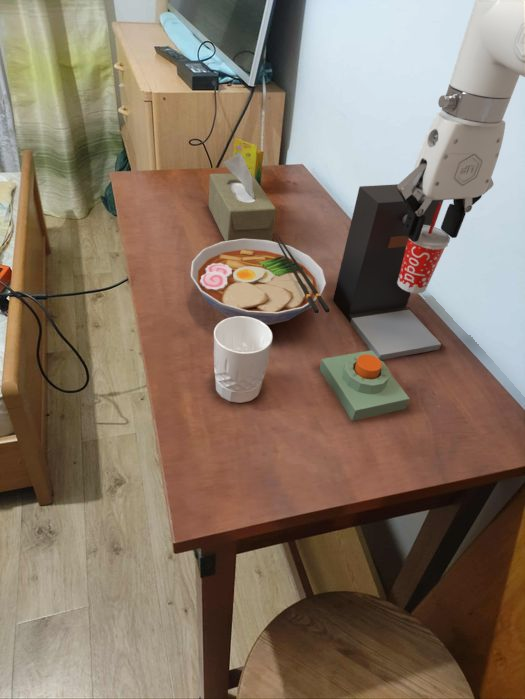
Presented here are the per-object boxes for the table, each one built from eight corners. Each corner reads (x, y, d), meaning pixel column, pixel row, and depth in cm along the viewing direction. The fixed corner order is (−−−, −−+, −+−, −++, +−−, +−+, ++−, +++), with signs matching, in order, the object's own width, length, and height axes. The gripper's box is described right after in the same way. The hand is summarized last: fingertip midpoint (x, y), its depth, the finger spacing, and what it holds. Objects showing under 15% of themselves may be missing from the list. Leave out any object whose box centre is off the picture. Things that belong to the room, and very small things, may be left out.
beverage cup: (384, 280, 81) (410, 197, 72) (409, 271, 84) (436, 190, 75) (413, 300, 78) (444, 215, 69) (438, 289, 81) (471, 207, 72)
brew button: (383, 377, 74) (386, 368, 73) (361, 381, 73) (364, 372, 72) (371, 361, 77) (374, 352, 75) (350, 365, 75) (352, 356, 74)
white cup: (275, 394, 74) (284, 341, 68) (229, 414, 70) (233, 360, 64) (245, 362, 79) (251, 310, 72) (201, 379, 75) (203, 325, 69)
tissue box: (208, 206, 118) (210, 137, 108) (248, 205, 121) (254, 137, 111) (227, 247, 105) (232, 172, 95) (272, 245, 108) (281, 171, 97)
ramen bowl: (180, 272, 96) (180, 233, 91) (294, 266, 102) (301, 229, 97) (202, 360, 78) (203, 318, 73) (339, 347, 84) (350, 307, 79)
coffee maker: (439, 349, 86) (490, 232, 72) (378, 360, 82) (419, 239, 68) (387, 293, 98) (422, 182, 84) (332, 300, 94) (359, 186, 80)
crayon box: (260, 190, 128) (265, 143, 120) (253, 194, 126) (257, 146, 119) (238, 181, 131) (241, 134, 124) (230, 184, 129) (233, 137, 122)
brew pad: (405, 409, 75) (413, 389, 72) (351, 421, 72) (358, 401, 69) (369, 360, 82) (375, 341, 80) (319, 369, 79) (323, 349, 77)
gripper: (434, 115, 58) (392, 253, 70) (548, 115, 64) (491, 243, 76) (400, 96, 63) (366, 227, 75) (507, 97, 69) (460, 219, 81)
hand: (429, 234), depth 75 cm, fingers closed on beverage cup, 6 cm apart
